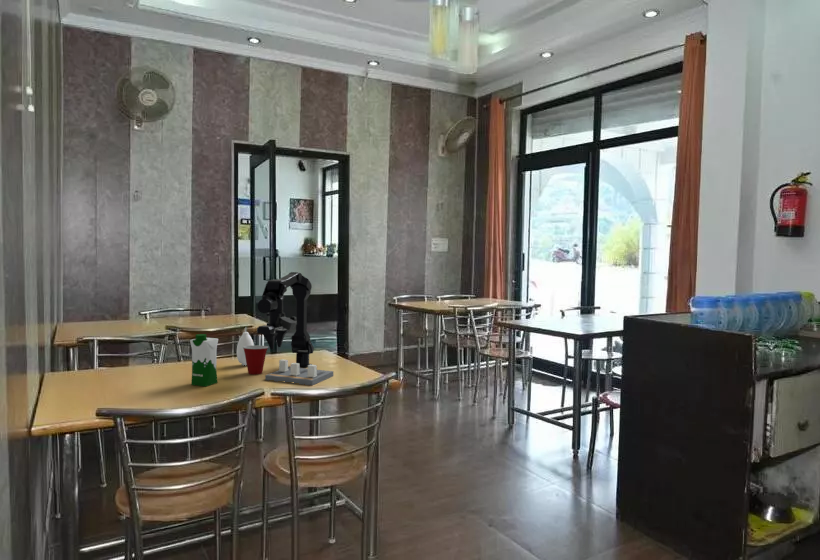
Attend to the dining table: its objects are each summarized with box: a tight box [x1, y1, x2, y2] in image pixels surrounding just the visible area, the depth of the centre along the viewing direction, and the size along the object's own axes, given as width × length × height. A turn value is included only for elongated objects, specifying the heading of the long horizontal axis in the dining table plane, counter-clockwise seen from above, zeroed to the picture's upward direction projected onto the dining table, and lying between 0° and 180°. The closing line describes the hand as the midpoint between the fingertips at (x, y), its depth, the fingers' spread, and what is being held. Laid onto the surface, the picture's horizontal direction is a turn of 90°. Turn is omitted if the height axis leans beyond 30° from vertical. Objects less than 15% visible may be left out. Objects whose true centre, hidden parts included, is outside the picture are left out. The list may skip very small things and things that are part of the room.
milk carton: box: [189, 333, 219, 388], centre depth 223 cm, size 9×9×20 cm
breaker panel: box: [264, 366, 334, 386], centre depth 237 cm, size 18×22×2 cm
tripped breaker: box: [278, 359, 289, 372], centre depth 239 cm, size 3×3×5 cm
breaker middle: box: [290, 362, 301, 376], centre depth 233 cm, size 3×3×5 cm
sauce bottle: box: [236, 326, 255, 367], centre depth 258 cm, size 8×8×18 cm
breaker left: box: [307, 364, 318, 378], centre depth 230 cm, size 3×3×5 cm
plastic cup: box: [243, 344, 269, 375], centre depth 244 cm, size 11×11×12 cm
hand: (275, 348), depth 233 cm, fingers open, 5 cm apart
